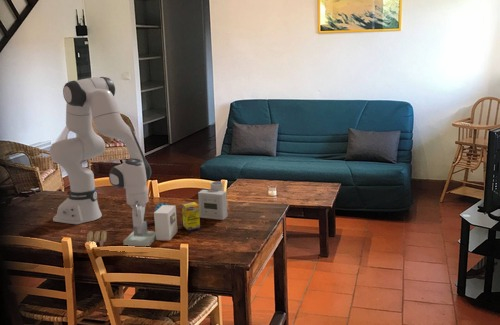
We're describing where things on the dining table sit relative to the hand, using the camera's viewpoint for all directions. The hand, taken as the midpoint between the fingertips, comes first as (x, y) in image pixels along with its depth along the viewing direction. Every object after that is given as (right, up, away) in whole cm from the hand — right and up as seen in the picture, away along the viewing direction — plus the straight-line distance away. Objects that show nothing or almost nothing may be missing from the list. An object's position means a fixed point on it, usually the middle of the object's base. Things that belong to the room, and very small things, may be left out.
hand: (140, 229), depth 219 cm
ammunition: (-18, -6, 0) cm, 19 cm away
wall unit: (+10, -3, +6) cm, 12 cm away
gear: (+7, +1, +25) cm, 26 cm away
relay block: (0, -2, 0) cm, 2 cm away
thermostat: (+30, +3, +30) cm, 43 cm away
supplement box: (+20, -1, +14) cm, 24 cm away
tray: (0, -5, +1) cm, 5 cm away
